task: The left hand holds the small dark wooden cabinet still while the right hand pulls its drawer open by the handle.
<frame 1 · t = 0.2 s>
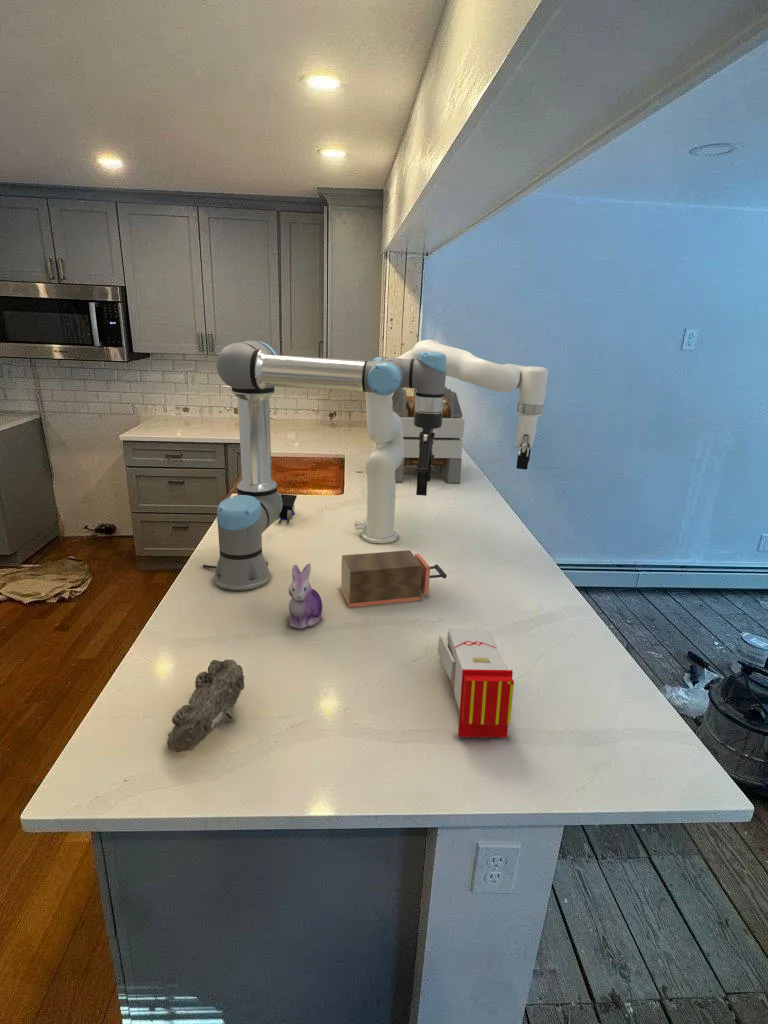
left hand: (423, 487, 159), 28 cm above the counter, tool pointing down, fingers open, 13 cm apart
right hand: (522, 465, 174), 31 cm above the counter, tool pointing down, fingers open, 9 cm apart
figurine character: (286, 519, 209), on the counter
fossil: (212, 717, 108), on the counter
drawer: (401, 575, 157), point 5 cm above the counter, slide at 1.4 cm
toy: (469, 691, 119), on the counter
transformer: (419, 473, 275), on the counter
cabinet: (379, 594, 157), on the counter
figurine: (305, 620, 143), on the counter
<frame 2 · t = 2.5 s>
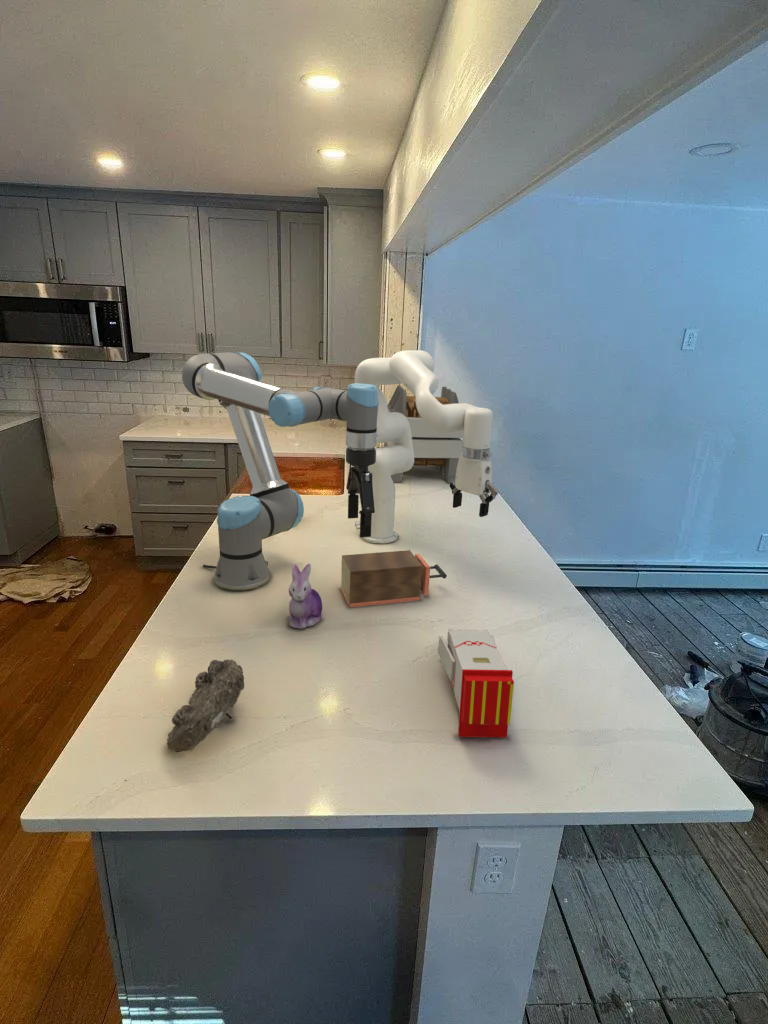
left hand: (358, 527, 148), 21 cm above the counter, tool pointing down, fingers open, 13 cm apart
right hand: (469, 511, 163), 21 cm above the counter, tool pointing down, fingers open, 9 cm apart
nothing on the counter moved.
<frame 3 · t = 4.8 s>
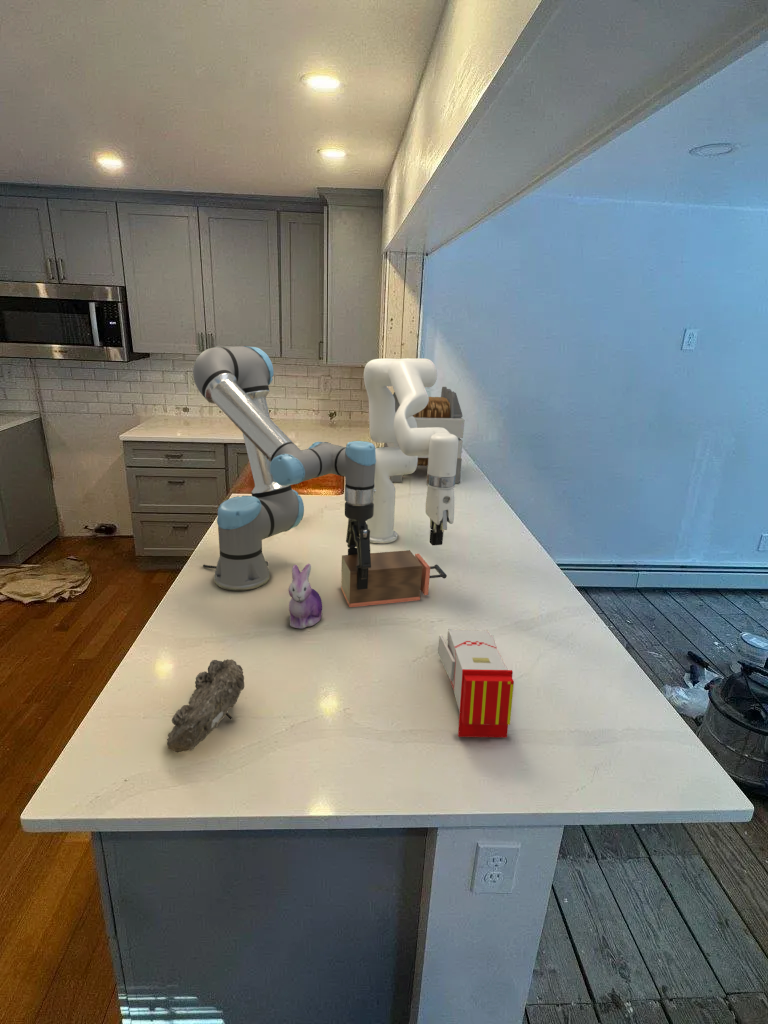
left hand: (357, 579, 153), 5 cm above the counter, tool pointing down, fingers closed on cabinet, 11 cm apart
right hand: (435, 543, 157), 14 cm above the counter, tool pointing down, fingers closed
cabinet: (379, 594, 157), on the counter, touching left hand
everything else where it was.
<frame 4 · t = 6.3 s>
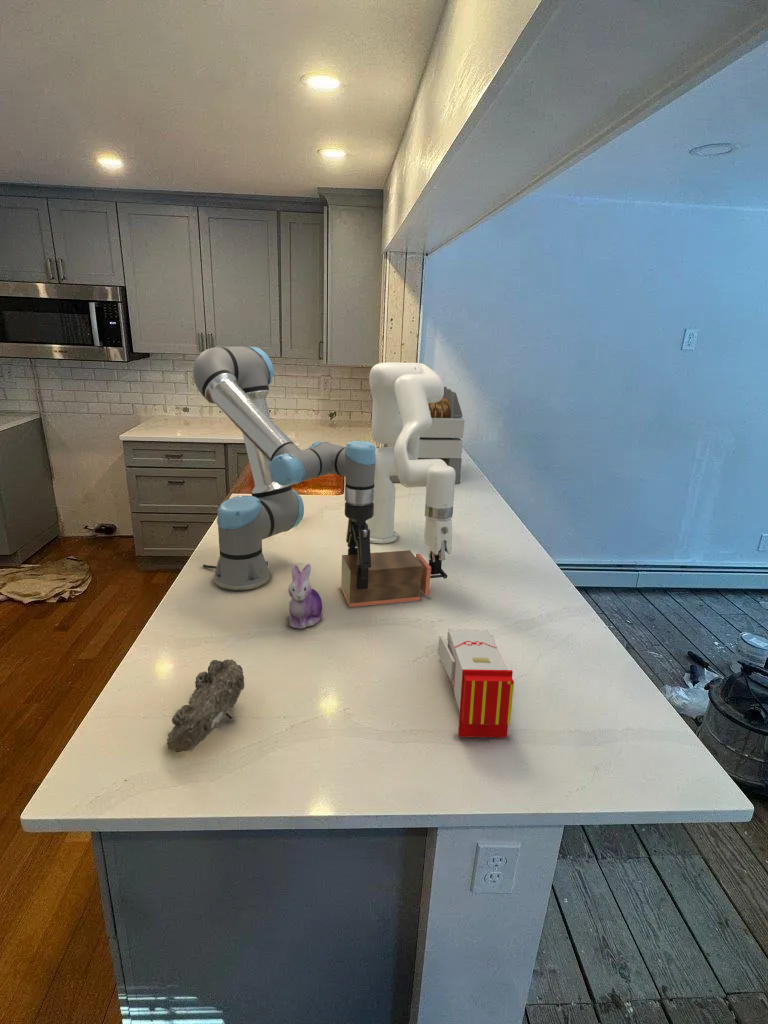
left hand: (357, 578, 153), 5 cm above the counter, tool pointing down, fingers closed on cabinet, 11 cm apart
right hand: (434, 572, 159), 5 cm above the counter, tool pointing down, fingers closed
cabinet: (379, 594, 157), on the counter, touching left hand
everything else where it was.
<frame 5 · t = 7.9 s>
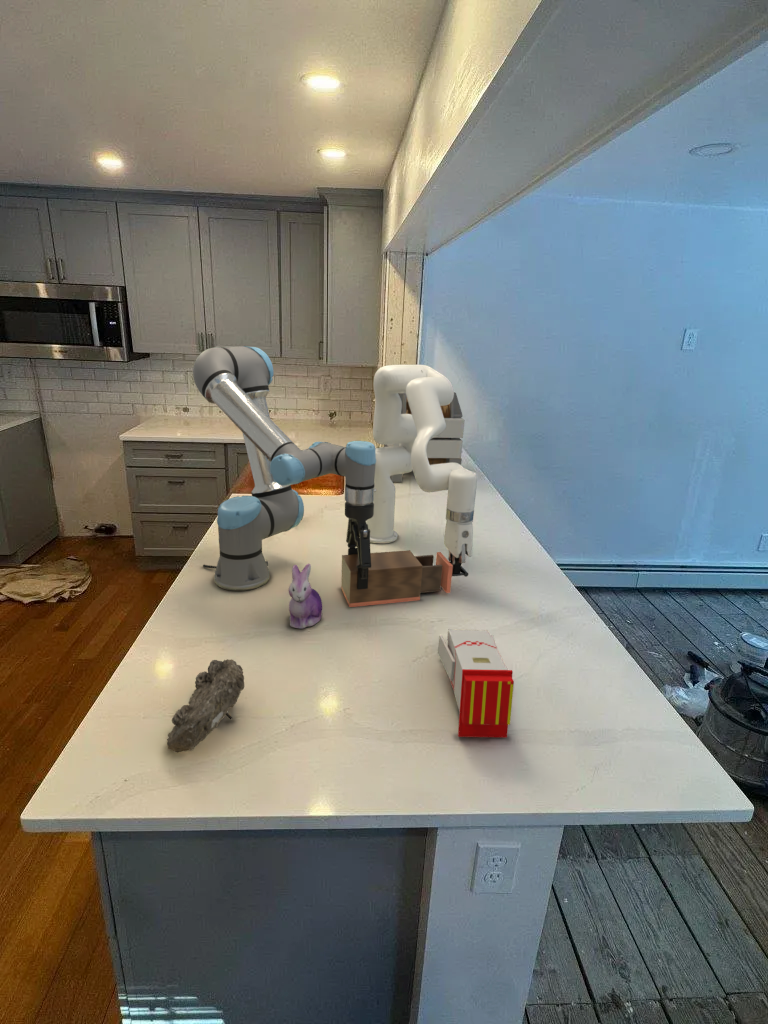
left hand: (357, 578, 153), 5 cm above the counter, tool pointing down, fingers closed on cabinet, 11 cm apart
right hand: (454, 574, 162), 4 cm above the counter, tool pointing down, fingers closed
drawer: (424, 573, 159), point 5 cm above the counter, slide at 7.9 cm, touching right hand
cabinet: (380, 594, 157), on the counter, touching left hand
everything else where it was.
when the left hand's fingers open (5 cm above the counter, at t = 9.4 s): cabinet stays where it is, on the counter.
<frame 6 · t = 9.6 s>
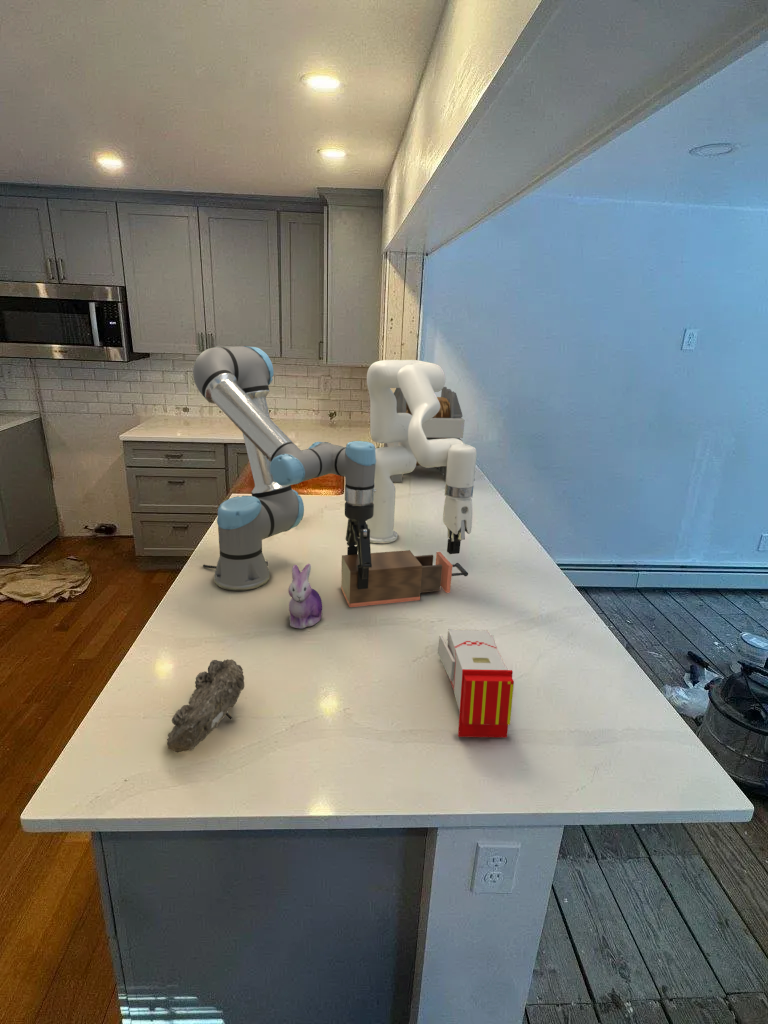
left hand: (357, 577, 153), 6 cm above the counter, tool pointing down, fingers open, 12 cm apart
right hand: (453, 552, 159), 11 cm above the counter, tool pointing down, fingers closed
drawer: (423, 573, 159), point 5 cm above the counter, slide at 7.9 cm
cabinet: (380, 594, 157), on the counter
everything else where it was.
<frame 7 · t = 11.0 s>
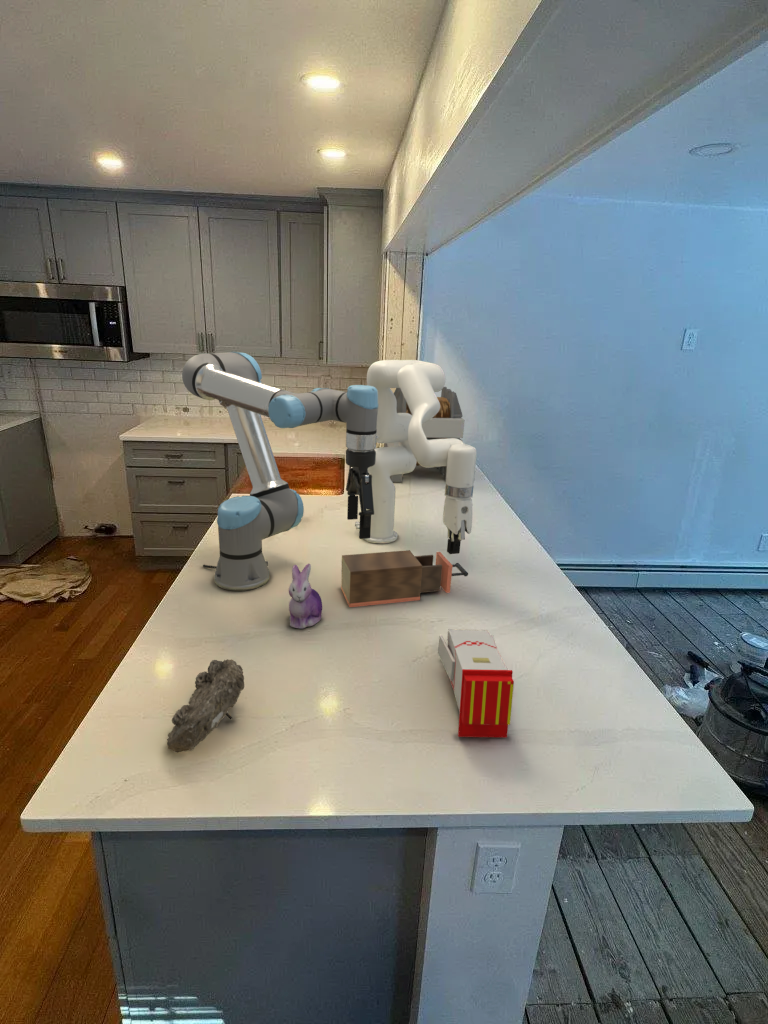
left hand: (358, 528, 149), 20 cm above the counter, tool pointing down, fingers open, 13 cm apart
right hand: (453, 552, 159), 11 cm above the counter, tool pointing down, fingers closed
nothing on the counter moved.
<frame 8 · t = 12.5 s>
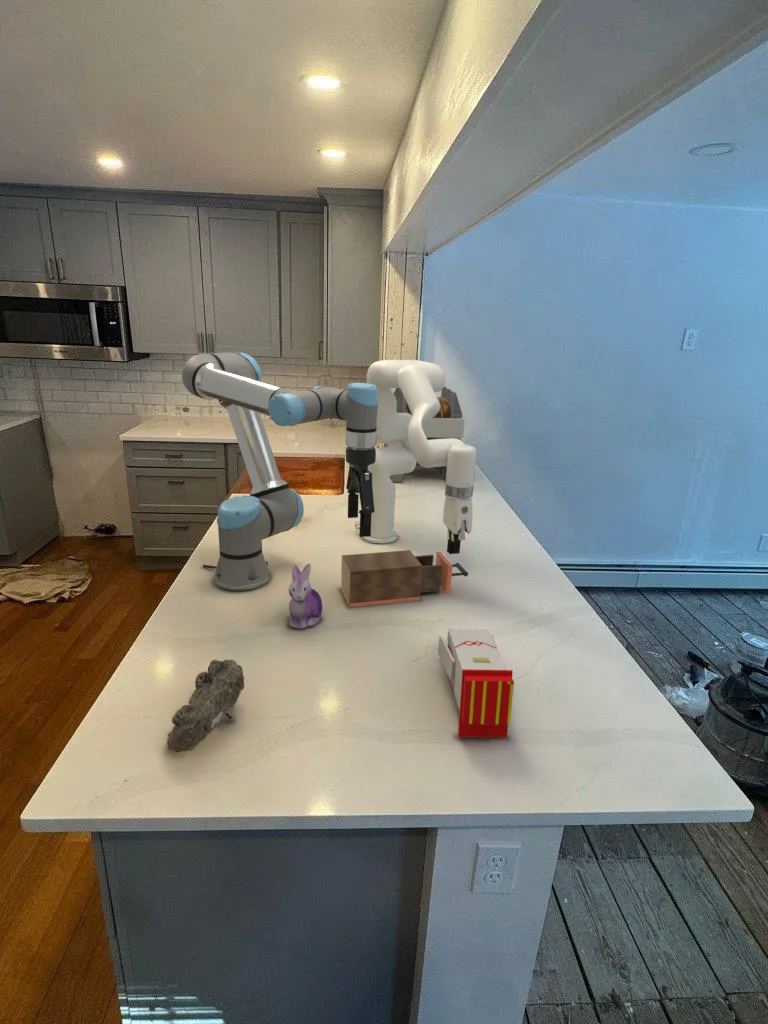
left hand: (358, 526, 148), 21 cm above the counter, tool pointing down, fingers open, 13 cm apart
right hand: (453, 552, 159), 11 cm above the counter, tool pointing down, fingers closed
nothing on the counter moved.
at the end: drawer slide at 7.9 cm; cabinet tilted 0°; cabinet never tilted more than 1° during the clip; cabinet moved 0.0 cm from its start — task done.
